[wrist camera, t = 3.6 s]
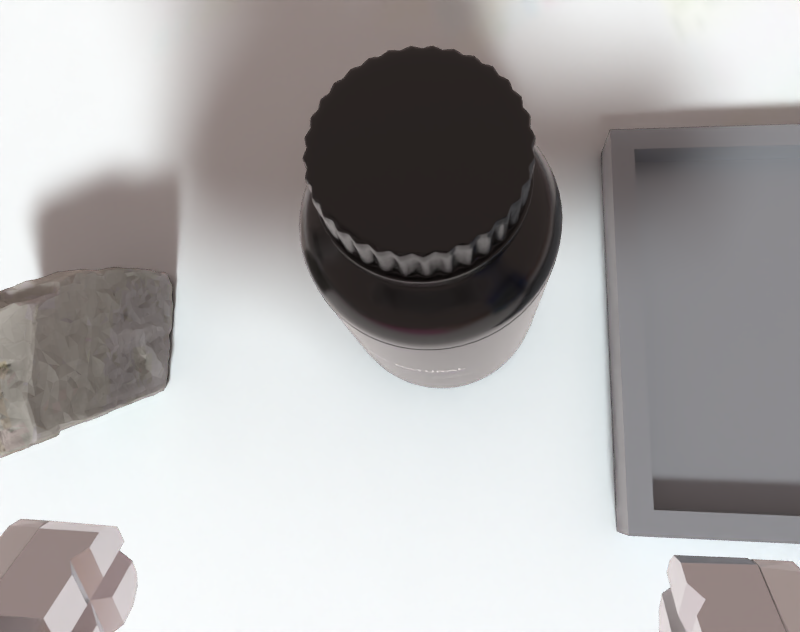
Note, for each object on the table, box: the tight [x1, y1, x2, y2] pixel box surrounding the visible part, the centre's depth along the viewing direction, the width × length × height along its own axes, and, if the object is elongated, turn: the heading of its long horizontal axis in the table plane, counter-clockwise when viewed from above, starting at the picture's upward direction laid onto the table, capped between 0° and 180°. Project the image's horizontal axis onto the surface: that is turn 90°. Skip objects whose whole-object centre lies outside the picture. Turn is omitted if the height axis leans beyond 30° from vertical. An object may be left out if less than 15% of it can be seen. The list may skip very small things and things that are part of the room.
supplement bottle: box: [300, 46, 562, 388], centre depth 19 cm, size 7×7×12 cm
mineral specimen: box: [0, 267, 174, 458], centre depth 22 cm, size 7×9×8 cm
